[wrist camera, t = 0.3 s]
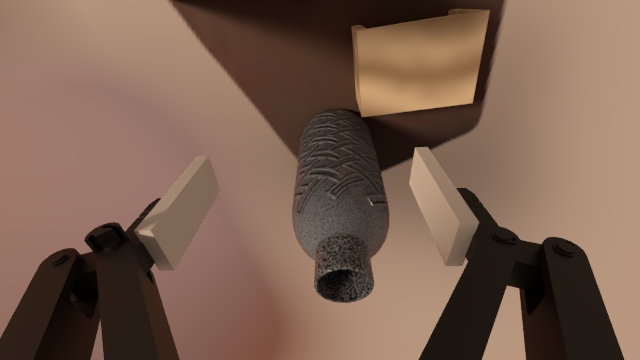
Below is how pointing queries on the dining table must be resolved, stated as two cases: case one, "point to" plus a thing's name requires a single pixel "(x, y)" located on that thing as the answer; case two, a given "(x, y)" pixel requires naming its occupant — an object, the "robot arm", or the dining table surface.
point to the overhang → (418, 62)
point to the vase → (340, 204)
